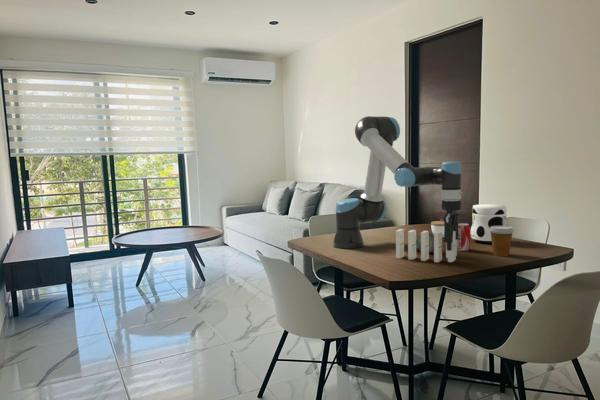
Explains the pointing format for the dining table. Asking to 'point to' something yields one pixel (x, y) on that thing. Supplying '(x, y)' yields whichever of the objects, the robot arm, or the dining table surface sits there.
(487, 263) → the dining table surface
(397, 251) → the domino
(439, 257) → the domino
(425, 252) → the domino
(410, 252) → the domino
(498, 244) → the disposable coffee cup
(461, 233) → the soda can
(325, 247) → the dining table surface
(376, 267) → the dining table surface
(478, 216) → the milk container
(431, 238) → the mineral rock
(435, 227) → the lidded jar
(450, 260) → the domino
